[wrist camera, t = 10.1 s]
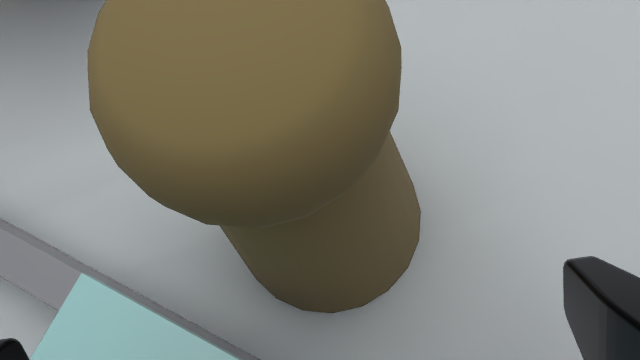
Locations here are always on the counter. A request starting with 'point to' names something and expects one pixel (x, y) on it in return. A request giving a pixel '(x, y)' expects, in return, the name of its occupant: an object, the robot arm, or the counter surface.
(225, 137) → the brown waisted cylinder
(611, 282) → the robot arm
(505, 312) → the counter surface
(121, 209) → the counter surface
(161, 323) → the teal gray square board
